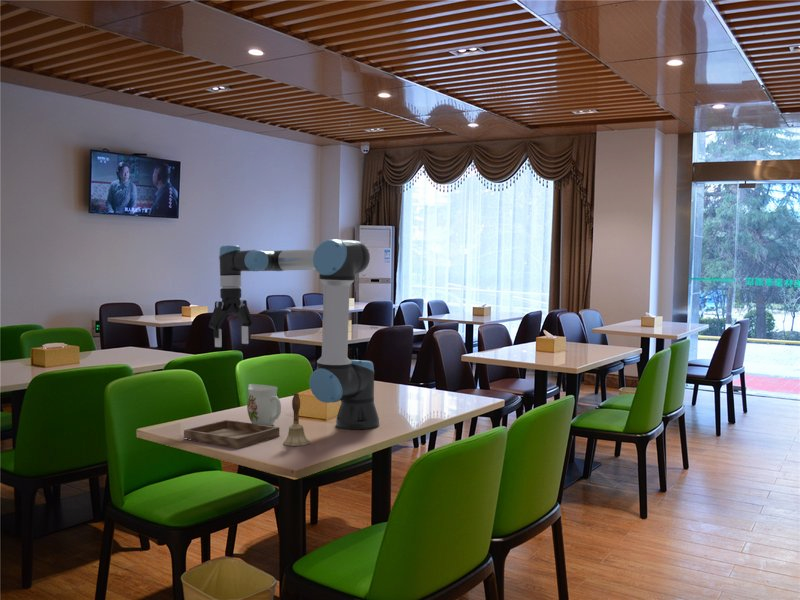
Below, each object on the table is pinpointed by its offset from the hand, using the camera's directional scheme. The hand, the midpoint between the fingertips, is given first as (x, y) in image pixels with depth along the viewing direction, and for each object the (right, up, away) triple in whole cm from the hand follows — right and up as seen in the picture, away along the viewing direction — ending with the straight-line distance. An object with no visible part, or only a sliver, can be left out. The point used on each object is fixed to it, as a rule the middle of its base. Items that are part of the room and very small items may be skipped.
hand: (232, 345), depth 272 cm
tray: (+7, -28, -31) cm, 42 cm away
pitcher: (+14, -28, -12) cm, 33 cm away
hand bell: (+29, -29, -39) cm, 56 cm away
